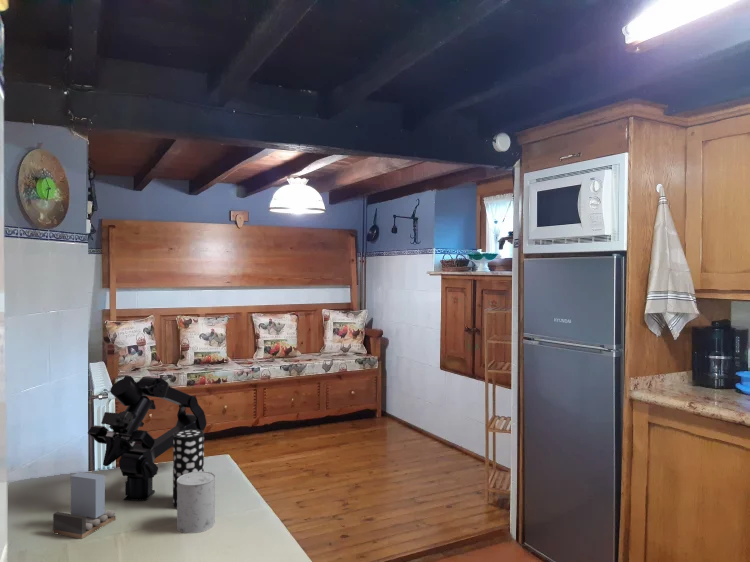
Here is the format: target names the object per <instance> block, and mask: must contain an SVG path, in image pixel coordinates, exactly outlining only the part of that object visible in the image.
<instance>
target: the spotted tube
mask: <svg viewBox="0 0 750 562" xmlns="http://www.w3.org/2000/svg"><path fill="white" fill-rule="evenodd" d="M204 466H205V430H204V431H202V430H196V429H190V430H182V431H178V432H176V433H174V434H173V446H172V507H173V508H175V509H177V479H178V478H179V477H180V476H182V475H184V474H187V473H191V472H198V471H205V467H204Z"/></svg>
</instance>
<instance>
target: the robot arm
mask: <svg viewBox="0 0 750 562" xmlns="http://www.w3.org/2000/svg"><path fill="white" fill-rule="evenodd" d="M110 394H111V395H112V396H113V397H114V398H115V399H116V400H117V401H118V402H119V403H120V404H121V405H122V406H124V407H126V408H125V409H124V410H123V411H120V412H118V413H117V412H110V411H108V412H107V411H105V412H104V414H103V417H102V420H101V421H100V422H101V424H102V425H96V424H95V425H91V427H90V428H89V430H88V432H87V435H88V436H90V437H91V438H92V439H94V441H96V442H97V443H98V444H104V445H105V451H104V457H103V462H102V465H103V466H104V467H109V466H110V465H111V464H113V463H114V462H115V461H117V460H118V459H119V460H118V465H119V469H120V471H121V475H122V476H123V477H126V481H125V484H124V486H125V488H124V489H125V491H124V492H125V493H124V495H125V497H123V500H124V501H146V500H148V499H149V498H150V497H151V496H152V495H154V494H155V493H156V490H155V489H153V486H154V485H153V478H154V477H155V476H156V475H158V471H159V466H158V465H156V463H155V461H156V459H157V458H158V457H160V456H161V455H163V454H164V453H166V452H167V451H168V450H169V449H172V448H173V434H174V433H176V432H178V431H182V430H190V429H196V430H202V431H204V432H205V430H206V428H207V419H206V414H205V411H204V410H203V408H202V407H201V406H200V404H199V402H198V398H197V397H196V396H195V395H191V394H189V393H186V392H183V391H182V390H179V389H177V388H174V387H171V386H170V385H169V382H168V381H166V379H164V378H162V377H153V376H142V377H141V378H140V379H139V380H138V381H135V380H134V378H133V376H131V375H125V376H124V377H123V378H122V379H121V378H120V379H119V380H117V381H115V383H113V384H112V385H111V387H110ZM149 397H151V398H152V397H153V398H159V399H162V400H165V401H167V402H170V403H173V404H176V405H177V406H178V410H177V414H176V416H177V421H176V422H175V423H176V424H175V426H174V427H172V428H171V429H169V430H167V431H166V432H164V433H163V434H161V435H160V436H158V437H157V438H154V437H153V436H152V435H151V434H150V433H149V431H147V430H141V429H139V428H140V427H142V428H143V427H144V425H145V423H144V422H143V421H144V420H145V418H146V415H147V413H148V412H149V410H156V404H155V400H153V399H150V398H149ZM186 408H188V409H189V410H190V411H191V413H186ZM103 425H104V426H103ZM105 425H108V426H109V427H108V428H110V429H111V430H109V429H108V428H107V427H106V426H105ZM139 443H141V444H139Z"/></svg>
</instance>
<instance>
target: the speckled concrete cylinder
mask: <svg viewBox="0 0 750 562" xmlns="http://www.w3.org/2000/svg"><path fill="white" fill-rule="evenodd" d="M176 515H177V516H176V529H177V531H178V532H180V533H183V534H198V533H203V532H206V531H208V530H210V529H211V528H213V527H214V526H215V524H216V474H215V473H213V472H210V471H206V470H204V471H198V472H191V473H187V474H184V475H182V476H180V477H179V478H178V479H177V508H176Z"/></svg>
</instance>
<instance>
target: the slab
mask: <svg viewBox="0 0 750 562" xmlns="http://www.w3.org/2000/svg"><path fill="white" fill-rule="evenodd" d="M105 479H106V476H105V474H99V473H98V474H97V473H90V472H83V471H78V472H77V473H75V474H71V475H70V514H74V515H80V516H86V517H90V518H97V517H99V516H101V515H103V514H105V510H106V507H105V506H106V504H105V503H106V501H105V500H106V492H105V490H106V487H105V486H106V480H105Z"/></svg>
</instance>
